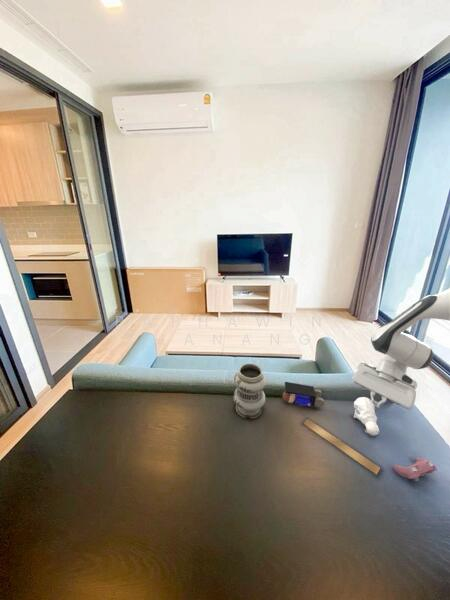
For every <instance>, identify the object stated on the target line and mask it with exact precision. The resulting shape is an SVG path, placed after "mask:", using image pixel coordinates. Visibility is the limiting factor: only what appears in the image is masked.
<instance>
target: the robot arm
mask: <svg viewBox="0 0 450 600" xmlns="http://www.w3.org/2000/svg"><path fill="white" fill-rule="evenodd" d="M427 319H428V320H429V319H431V320H432V319H433V320H434V319H435V320H443V321H449V322H450V288H448V289H447V290H445V291H443V292H441V293H438V294H428V295H427V296H424V297H422V298H421V299H419V300H418V301H416V302H414V303H413V304H412V305H410V306H409V307H408V308H406V309H405V310H404V311H402V312H401V313H399V314H398V315H397V316H396V317H394V318H393V319H392V320H390V321H389V322H387V323H385V324H383V325H382V326H380V327H379V328H377V329H376V330H375V331H374V333H373V334H372V335H371V338H370V342H371V344H372V347H373V349H374V350H375V351H376V352H378V353H381V354H383V355H382V358H380V360H379V361H378V364H377V366H374V365H372V364H369V363H367V362H360V363H359V364H358V365H357V367H356V371H355V373H353V376H352V378H351V379H352V381H353V383H354V384H356V385H357V386H360V387H362V388H363V389H366V390H368V391H370V400H371V401H372V403H373V404H374V406H375V408H377V409H379V408H380V407H381V405H382V404H384V403H386V402H387V401H390V402H392V403H394V404H396V405H398V406H400V407H402V408H404V409H406V410H409V411H411V410H413V408H414V407H415V402H416V399H417V391H416V389H417V387H418V383H417V381H416V380H415V379H414V378H412V377H411V376H409V375H408V374H407V369H408V368H411V369H413V370H422V369H423V370H424V369H426V368H428V367H429V366H430V365H431V363H432V362H433V358H434V353H433V352H434V351H433V349H432V348H431V347H430V346H429V345H428V344H426V343H425V342H422V341H420V340H419V339H417V338H416V337H415V336H414V335H411V334H410V333H405V331H406V330H407V329H409V328H410V327H412V326H414V325H415V324H416V323H418V322H419V321H422V320H427ZM376 395H378V396H380V397H381V400H379V401H377V400H375V399H374V397H376Z"/></svg>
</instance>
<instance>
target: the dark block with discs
mask: <svg viewBox="0 0 450 600" xmlns="http://www.w3.org/2000/svg"><path fill="white" fill-rule="evenodd" d="M322 396H323V392H322V391H321V390H320V389H316V388H314V386H312V385H307V384H302V383H295V382H289V381H284V392H282V400H283V401H284V402H285V403H287V404H292V403H295V404H297V405H300V406H302V407H303V406H305V407H310V408H314V409H316V408H317V407H318V408H322V407H324V406H325V404H326V403H325V400H324V398H322Z"/></svg>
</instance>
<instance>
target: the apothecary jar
mask: <svg viewBox="0 0 450 600" xmlns="http://www.w3.org/2000/svg"><path fill="white" fill-rule="evenodd" d="M233 380H234V384H235V385H236V389H235V390H234V392H233V396H232V397H233V401H234V404H235V410H236V413H237V414H238V415H239V416H240V417H242V418H244V419H248V418H249V419H251V420H252V419H255V418H257V417H259V416H261V414H262V407H263V406H264V405H265V403H266V394H265V392H264V390H263V389H264V388H265V387H266V386H267V376H266V375H265V373H264V372H263V369H262V367H260V366H259V365H257V364H255V363H245V364H242V365H241V366H240V367H239V369H238V370H237V371H236V372H235V374H234V377H233Z"/></svg>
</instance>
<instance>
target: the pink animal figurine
mask: <svg viewBox="0 0 450 600" xmlns="http://www.w3.org/2000/svg"><path fill="white" fill-rule="evenodd" d="M414 462H415V463H413V464H411V465H408V466H402V465H399V464H394V465H393V470H394V472H395V473H397V474H398V475H399V476H401V477H403V478H405V479H408V480H414V481H415V482H417V481H419V480H420V478H419V477H424V476H425V475H426V474H432V473H434V472H436V471H438V468H437V467H436V465H435V464H434V463H433V461H431V460H429V459H425V458H421V457H415V459H414Z"/></svg>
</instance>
